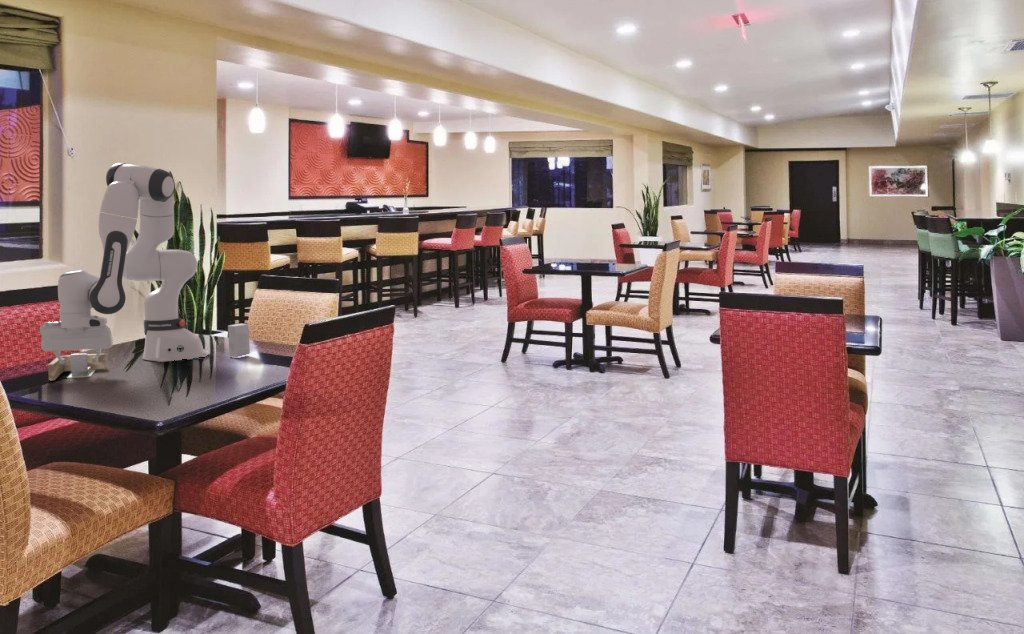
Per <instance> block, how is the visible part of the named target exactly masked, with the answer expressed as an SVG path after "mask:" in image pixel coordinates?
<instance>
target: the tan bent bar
mask: <svg viewBox="0 0 1024 634" xmlns="http://www.w3.org/2000/svg"><path fill="white" fill-rule="evenodd" d="M96 354H97V353H91V354H87V364H88V366H91V370H106V369H107V362H106V353H100V354H99V356H98V363H92V361H93V360H92V357H95V356H96ZM70 355H71V354H69V355H60V356H61V357H62V358H65V362H66V364H64V365H60V364H59V359H58V358H57V357H55V358H54V359H52V361H50V363H48V364H47V372H48V381H49V380H50V382H51V381H55V380H56V379H57V378H59V377H60V375H62V374H63V372H72V371H71V358H70Z"/></svg>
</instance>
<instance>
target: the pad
mask: <svg viewBox="0 0 1024 634" xmlns="http://www.w3.org/2000/svg"><path fill="white" fill-rule="evenodd" d="M96 370H97V369H94V370H91V372H90V373H89V374H88V375H87V376H72V372H71V373H70V374H69V375H68V376H66V379H77V378H90V377H91V376H92V375H93V374H94V373H95V372H96Z"/></svg>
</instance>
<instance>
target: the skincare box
mask: <svg viewBox="0 0 1024 634" xmlns="http://www.w3.org/2000/svg"><path fill="white" fill-rule="evenodd" d="M249 330H250V329H249V324H248V323H236V324H235V323H234V324H230V325H227V333H228V334H227V335H228V350H229V352H228V353H229V357H230V356H233V357H238V356H242V355H246V354H249V353H250V354H251V352H250V351H251V347H250V332H249Z"/></svg>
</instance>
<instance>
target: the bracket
mask: <svg viewBox="0 0 1024 634" xmlns="http://www.w3.org/2000/svg"><path fill="white" fill-rule="evenodd" d="M69 355H70V358H71V371H70V372H71V373H72V376H87V375H88V374H89V373H90V372H91V366H88V364H87V353H71V354H69Z"/></svg>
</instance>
